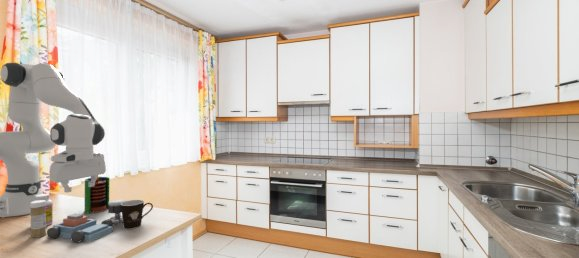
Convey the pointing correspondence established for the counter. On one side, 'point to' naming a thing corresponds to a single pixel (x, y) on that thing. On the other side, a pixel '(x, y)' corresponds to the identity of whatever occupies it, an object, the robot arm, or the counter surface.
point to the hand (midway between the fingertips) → (80, 189)
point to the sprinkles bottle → (38, 218)
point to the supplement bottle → (47, 207)
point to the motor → (97, 195)
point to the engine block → (74, 220)
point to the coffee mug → (133, 213)
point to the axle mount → (117, 218)
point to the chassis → (81, 230)
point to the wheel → (115, 206)
